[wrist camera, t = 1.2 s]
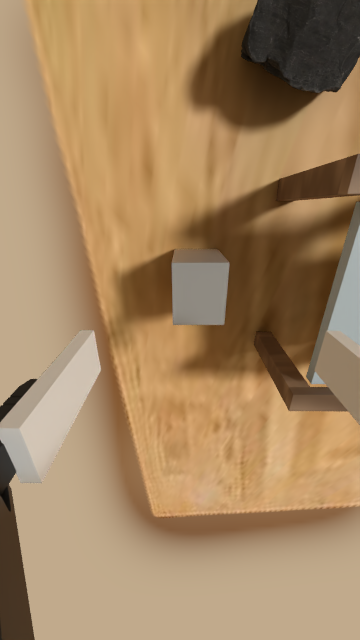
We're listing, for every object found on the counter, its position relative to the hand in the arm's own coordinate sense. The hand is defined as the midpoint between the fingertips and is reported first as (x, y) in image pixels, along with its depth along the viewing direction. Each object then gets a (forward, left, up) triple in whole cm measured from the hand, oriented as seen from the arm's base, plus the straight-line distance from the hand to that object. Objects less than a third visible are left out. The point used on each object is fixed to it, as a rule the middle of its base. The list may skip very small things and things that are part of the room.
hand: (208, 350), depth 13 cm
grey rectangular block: (0, 0, -17) cm, 17 cm away
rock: (-20, +9, -17) cm, 28 cm away
